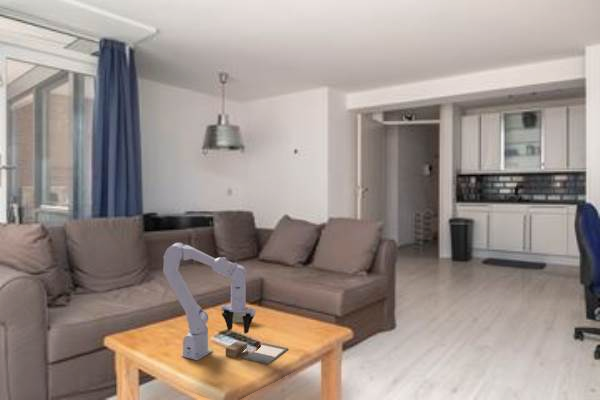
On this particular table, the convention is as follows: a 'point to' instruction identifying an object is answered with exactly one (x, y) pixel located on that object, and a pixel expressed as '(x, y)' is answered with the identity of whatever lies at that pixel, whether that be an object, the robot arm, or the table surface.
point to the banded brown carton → (236, 349)
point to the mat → (265, 354)
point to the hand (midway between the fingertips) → (238, 331)
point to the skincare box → (237, 317)
